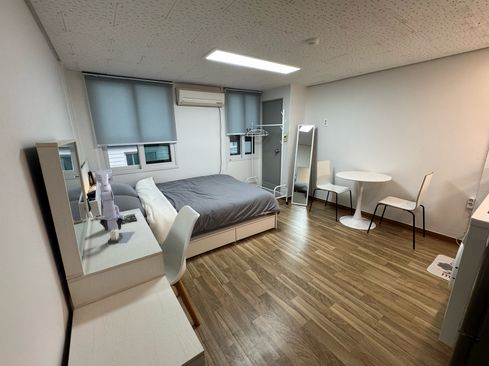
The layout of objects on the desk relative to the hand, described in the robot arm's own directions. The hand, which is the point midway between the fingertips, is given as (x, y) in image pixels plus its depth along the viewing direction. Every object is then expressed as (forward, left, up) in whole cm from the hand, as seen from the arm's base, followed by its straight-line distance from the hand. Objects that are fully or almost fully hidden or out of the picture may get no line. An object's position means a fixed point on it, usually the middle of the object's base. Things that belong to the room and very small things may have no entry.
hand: (113, 229), depth 135 cm
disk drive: (-33, -4, -10) cm, 35 cm away
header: (0, 0, -8) cm, 8 cm away
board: (-3, +3, -9) cm, 10 cm away
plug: (0, 0, -8) cm, 8 cm away
